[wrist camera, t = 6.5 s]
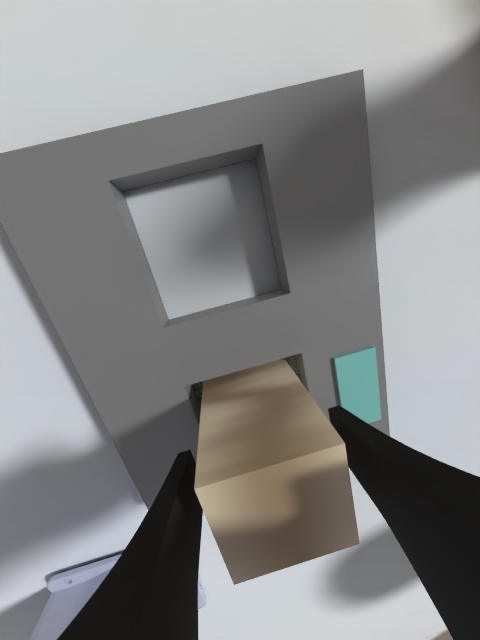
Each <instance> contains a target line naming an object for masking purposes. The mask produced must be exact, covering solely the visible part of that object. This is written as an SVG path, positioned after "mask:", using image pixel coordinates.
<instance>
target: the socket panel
mask: <svg viewBox="0 0 480 640" xmlns="http://www.w3.org/2000/svg"><path fill="white" fill-rule="evenodd" d="M252 159H256V162H257V167H258V172H259V177H260V182H261V187H262V192H263V197H264V202H265V207H266V212H267V217H268V222H269V227H270V232H271V237H272V242H273V247H274V252H275V257H276V263H277V268H278V273H279V278H280V283H281V288H282V290H278V291H274V292H271V293H267V294H263V295H259V296H256V297H252V298H248V299H245V300H241V301H237V302H234V303H230V304H226V305H223V306H219V307H215V308H212V309H208V310H204V311H201V312H197V313H193V314H190V315H186V316H182V317H179V318H175V319H171V320H168V317H167V314H166V311H165V309H164V306H163V303H162V300H161V297H160V295H159V292H158V289H157V286H156V283H155V281H154V278H153V275H152V272H151V269H150V267H149V264H148V261H147V258H146V255H145V253H144V250H143V247H142V244H141V241H140V239H139V236H138V233H137V230H136V227H135V225H134V222H133V219H132V216H131V214H130V211H129V208H128V205H127V202H126V200H125V197H124V194H123V191H125V190H129V189H133V188H138V187H142V186H146V185H150V184H154V183H158V182H162V181H166V180H170V179H174V178H178V177H183V176H187V175H191V174H195V173H199V172H203V171H207V170H211V169H215V168H219V167H223V166H228V165H232V164H236V163H240V162H244V161H248V160H252ZM0 223H1V225H2V227H3V229H4V231H5V233H6V235H7V237H8V239H9V241H10V243H11V245H12V246H13V248H14V250H15V252H16V254H17V256H18V258H19V260H20V262H21V264H22V266H23V268H24V270H25V272H26V274H27V276H28V277H29V279H30V281H31V283H32V285H33V287H34V289H35V291H36V293H37V295H38V297H39V299H40V301H41V303H42V305H43V307H44V308H45V310H46V312H47V314H48V316H49V318H50V320H51V322H52V324H53V326H54V328H55V330H56V332H57V334H58V336H59V337H60V339H61V341H62V343H63V345H64V347H65V349H66V351H67V353H68V355H69V357H70V359H71V361H72V363H73V365H74V367H75V368H76V370H77V372H78V374H79V376H80V378H81V380H82V382H83V384H84V386H85V388H86V390H87V392H88V394H89V396H90V398H91V399H92V401H93V403H94V405H95V407H96V409H97V411H98V413H99V415H100V417H101V419H102V421H103V423H104V425H105V427H106V429H107V430H108V432H109V434H110V436H111V438H112V440H113V442H114V444H115V446H116V448H117V450H118V452H119V454H120V456H121V458H122V460H123V461H124V463H125V465H126V467H127V469H128V471H129V473H130V475H131V477H132V479H133V481H134V483H135V485H136V487H137V489H138V491H139V492H140V494H141V496H142V498H143V500H144V502H145V504H146V506H147V508H148V510H149V509H150V507H151V505H152V504H153V502H154V500H155V498H156V496H157V494H158V492H159V491H160V489H161V487H162V485H163V483H164V481H165V479H166V477H167V475H168V473H169V471H170V469H171V467H172V465H173V463H174V461H175V459H176V457H177V455H178V453H180V452H184V451H187V450H191V452H192V455H193V457H194V460H195V462H197V450H198V438H199V425H200V413H201V409H200V406H199V404H198V401H197V398H196V395H195V392H194V390H193V387H192V384H195V383H198V382H202V381H205V380H209V379H212V378H216V377H219V376H223V375H226V374H230V373H233V372H237V371H240V370H244V369H247V368H251V367H254V366H258V365H261V364H265V363H268V362H272V361H275V360H279V359H282V358H286V357H289V356H293V355H295V358H296V364H297V369H298V374H299V379H300V381H301V382H302V384H303V385H304V387H305V388H306V389H307V391H308V392H309V394H310V395H311V396H312V398H313V399H314V401H315V402H316V403H317V405H318V406H319V408H320V409H321V410H322V412H323V413H324V415H325V416H326V417H327V419H328V420H329V422H330V418H329V412H328V408H332V407H335V406H338V405H340V406H341V407H343V408H345V409H346V410H348V411H349V412H351V413H352V414H354V415H355V416H357V417H358V418H360V419H362V420H363V421H365V422H366V423H368V424H369V425H371V426H373V427H374V428H376V429H378V430H379V431H381V432H383V433H384V434H386V435H388V436H390V433H389V419H388V405H387V392H386V378H385V364H384V350H383V337H382V323H381V309H380V295H379V282H378V268H377V254H376V241H375V227H374V213H373V199H372V186H371V172H370V158H369V144H368V131H367V117H366V103H365V89H364V76H363V69H362V70H358V71H354V72H350V73H345V74H341V75H337V76H332V77H328V78H324V79H319V80H315V81H311V82H306V83H302V84H298V85H293V86H289V87H285V88H281V89H276V90H272V91H268V92H263V93H259V94H255V95H250V96H246V97H242V98H237V99H233V100H229V101H225V102H220V103H216V104H212V105H207V106H203V107H199V108H194V109H190V110H186V111H181V112H177V113H173V114H168V115H164V116H160V117H156V118H151V119H147V120H143V121H138V122H134V123H130V124H125V125H121V126H117V127H112V128H108V129H104V130H100V131H95V132H91V133H87V134H82V135H78V136H74V137H69V138H65V139H61V140H56V141H52V142H48V143H43V144H39V145H35V146H31V147H26V148H22V149H18V150H13V151H9V152H5V153H0Z"/></svg>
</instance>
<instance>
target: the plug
mask: <svg viewBox="0 0 480 640" xmlns="http://www.w3.org/2000/svg"><path fill="white" fill-rule="evenodd" d="M194 490H195V492H196V495H197V497H198V499H199V502H200V504H201V507H202V509H203V511H204V514H205V516H206V519H207V521H208V523H209V526H210V528H211V531H212V533H213V535H214V538H215V540H216V542H217V545H218V547H219V550H220V552H221V554H222V557H223V559H224V562H225V564H226V566H227V569H228V571H229V574H230V576H231V578H232V581H233V583H234V585H235V584H238V583H241V582H244V581H247V580H250V579H253V578H256V577H259V576H262V575H265V574H268V573H271V572H275V571H278V570H281V569H284V568H287V567H290V566H293V565H296V564H299V563H302V562H305V561H308V560H311V559H314V558H317V557H321V556H324V555H327V554H330V553H333V552H336V551H339V550H342V549H345V548H348V547H351V546H354V545H357V544H359V537H358V530H357V523H356V517H355V510H354V503H353V496H352V489H351V482H350V475H349V468H348V461H347V454H346V447H345V443H344V441H343V440H342V438H341V437H340V436H339V434H338V433H337V431H336V430H335V429H334V427H333V426H332V424H331V423H330V422H329V420H328V419H327V417H326V416H325V415H324V413H323V412H322V410H321V409H320V408H319V406H318V405H317V403H316V402H315V401H314V399H313V398H312V396H311V395H310V394H309V392H308V391H307V389H306V388H305V387H304V385H303V384H302V382H301V381H300V380H299V378H298V377H297V375H296V374H295V373H294V371H293V370H292V368H291V367H290V366H289V364H288V363H287V361H286V360H285V359H284V358H282V359H279V360H275V361H272V362H268V363H265V364H261V365H258V366H254V367H251V368H247V369H244V370H240V371H237V372H233V373H230V374H226V375H223V376H219V377H216V378H212V379H209V380H205V381H203V389H202V401H201V413H200V425H199V438H198V450H197V462H196V474H195V486H194Z"/></svg>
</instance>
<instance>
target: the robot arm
mask: <svg viewBox="0 0 480 640" xmlns="http://www.w3.org/2000/svg"><path fill="white" fill-rule="evenodd" d="M328 412H329V418H330V423H331V424H332V426H333V427H334V429H335V430H336V431H337V433H338V434H339V436H340V437H341V438H342V440H343V441H344V443H345V447H346V454H347V461H348V467H349V468H350V469H351V471H352V472H353V474H354V475H355V477H356V478H357V480H358V481H359V482H360V484H361V485H362V487H363V488H364V490H365V491H366V492H367V494H368V495H369V497H370V498H371V500H372V501H373V502H374V504H375V505H376V507H377V508H378V510H379V511H380V513H381V514H382V516H383V517H384V519H385V520H386V522H387V524H388V525H389V527H390V529H391V530H392V532H393V534H394V535H395V537H396V539H397V540H398V542H399V544H400V545H401V547H402V549H403V551H404V552H405V554H406V556H407V557H408V559H409V561H410V563H411V564H412V566H413V568H414V570H415V571H416V573H417V575H418V576H419V578H420V580H421V582H422V584H423V585H424V587H425V589H426V591H427V592H428V594H429V596H430V598H431V600H432V601H433V603H434V605H435V607H436V609H437V610H438V612H439V614H440V616H441V617H442V619H443V621H444V623H445V625H446V627H447V628H448V630H449V632H450V634H451V636H452V638H453V640H480V477H478V476H475V475H472V474H470V473H467V472H465V471H462V470H460V469H457V468H455V467H452V466H450V465H447V464H445V463H443V462H440V461H438V460H436V459H433V458H431V457H429V456H427V455H425V454H423V453H421V452H418V451H416V450H414V449H412V448H410V447H408V446H406V445H404V444H403V443H401V442H399V441H397V440H395V439H393V438H392V437H390V436H388V435H386V434H384V433H383V432H381V431H379V430H378V429H376V428H374V427H373V426H371V425H369V424H368V423H366V422H365V421H363V420H362V419H360V418H358V417H357V416H355V415H354V414H352V413H351V412H349V411H348V410H346V409H345V408H343V407H341V406H340V405H338V406H335V407H332V408H328ZM195 474H196V462H195V460H194V457H193V455H192V452H191V450H187V451H184V452H180V453H178V455H177V457H176V459H175V461H174V463H173V465H172V467H171V469H170V471H169V473H168V475H167V477H166V479H165V481H164V483H163V485H162V487H161V489H160V491H159V492H158V494H157V496H156V498H155V500H154V502H153V504H152V505H151V507H150V509H149V511H148V512H147V514H146V516H145V518H144V519H143V521H142V523H141V525H140V526H139V528H138V530H137V531H136V533H135V535H134V536H133V538H132V539H131V541H130V542H129V544H128V545H127V547H126V549H125V550H124V552H123V553H122V554H120V555H116V556H113V557H110V558H107V559H104V560H101V561H97V562H94V563H91V564H88V565H85V566H81V567H78V568H75V569H72V570H69V571H66V572H62V573H59V574H56V575H53V576H52V577H51V578H50V579H49V581H48V583H47V588H48V589H49V591H50V592H51V595H50V597H49V599H48V601H47V603H46V605H45V607H44V609H43V612H42V614H41V616H40V618H39V620H38V622H37V624H36V626H35V628H34V630H33V632H32V634H31V636H30V638H29V640H198V609H200V608H202V607H204V606H205V604H206V596H205V594H204V592H203V590H202V588H201V586H200V584H199V582H198V569H199V554H200V541H201V528H202V514H203V509H202V507H201V504H200V502H199V499H198V497H197V495H196V492H195V490H194V486H195Z"/></svg>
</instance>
